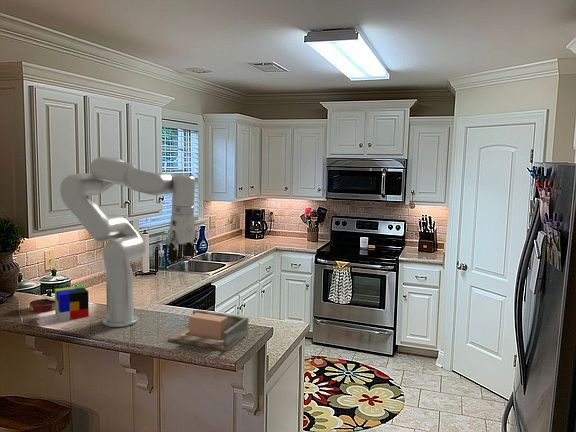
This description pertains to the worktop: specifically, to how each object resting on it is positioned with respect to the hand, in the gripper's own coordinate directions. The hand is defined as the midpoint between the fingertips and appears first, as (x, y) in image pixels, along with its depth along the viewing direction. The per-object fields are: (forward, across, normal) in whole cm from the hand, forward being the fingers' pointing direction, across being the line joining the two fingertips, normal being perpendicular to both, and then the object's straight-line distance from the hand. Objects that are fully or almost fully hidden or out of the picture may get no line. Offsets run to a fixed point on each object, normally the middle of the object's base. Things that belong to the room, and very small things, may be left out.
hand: (180, 258), depth 168 cm
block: (+24, -4, -15) cm, 29 cm away
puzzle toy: (+29, -4, +45) cm, 54 cm away
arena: (+26, -2, -14) cm, 30 cm away
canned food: (+30, -2, +61) cm, 68 cm away
